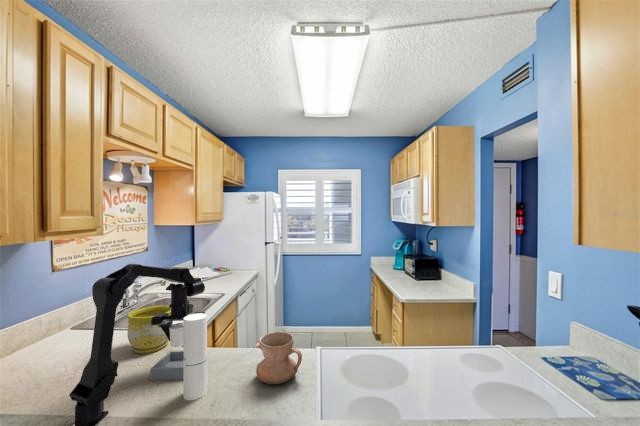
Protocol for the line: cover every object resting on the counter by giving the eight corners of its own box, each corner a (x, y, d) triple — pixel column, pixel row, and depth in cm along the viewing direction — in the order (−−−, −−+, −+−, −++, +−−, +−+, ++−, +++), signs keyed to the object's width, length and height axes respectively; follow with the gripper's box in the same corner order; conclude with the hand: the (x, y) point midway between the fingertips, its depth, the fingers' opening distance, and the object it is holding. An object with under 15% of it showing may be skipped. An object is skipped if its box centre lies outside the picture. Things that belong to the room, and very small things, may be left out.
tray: (190, 378, 100) (190, 367, 100) (150, 380, 99) (150, 369, 99) (204, 359, 114) (204, 349, 114) (169, 361, 113) (169, 351, 113)
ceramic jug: (245, 384, 95) (245, 343, 96) (265, 363, 109) (265, 327, 109) (293, 394, 90) (293, 350, 90) (308, 371, 104) (308, 333, 104)
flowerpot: (178, 347, 126) (178, 310, 127) (131, 361, 113) (132, 320, 114) (166, 335, 139) (166, 303, 139) (123, 347, 126) (123, 311, 127)
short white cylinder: (180, 348, 103) (180, 329, 103) (164, 346, 104) (164, 328, 104) (192, 340, 109) (192, 322, 110) (177, 339, 111) (177, 321, 111)
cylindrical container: (200, 384, 96) (200, 312, 97) (211, 392, 91) (211, 316, 92) (179, 394, 90) (179, 317, 91) (189, 403, 86) (189, 322, 87)
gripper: (210, 294, 116) (210, 331, 115) (165, 295, 115) (164, 333, 114) (200, 301, 105) (200, 343, 104) (150, 302, 104) (149, 345, 103)
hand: (179, 340), depth 107 cm, fingers closed on short white cylinder, 6 cm apart
